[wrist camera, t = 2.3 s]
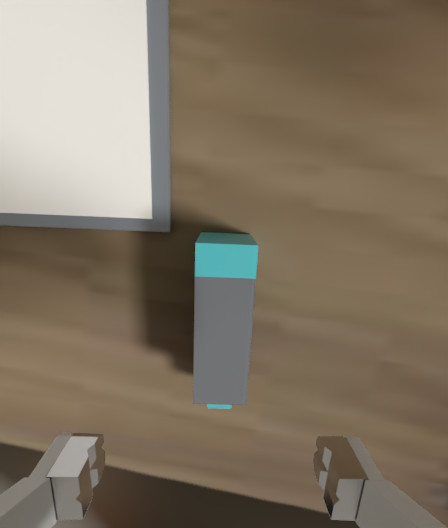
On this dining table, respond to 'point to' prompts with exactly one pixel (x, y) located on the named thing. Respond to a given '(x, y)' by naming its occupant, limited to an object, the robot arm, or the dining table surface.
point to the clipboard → (85, 114)
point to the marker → (223, 317)
